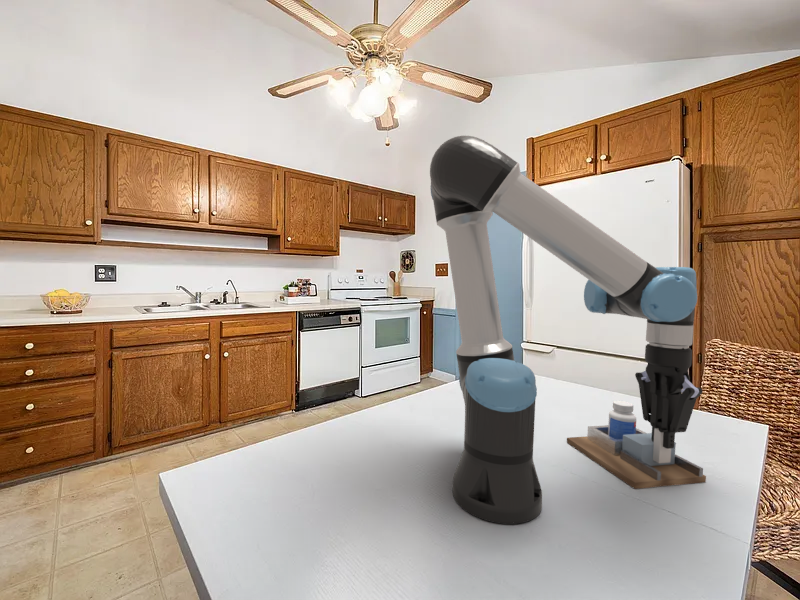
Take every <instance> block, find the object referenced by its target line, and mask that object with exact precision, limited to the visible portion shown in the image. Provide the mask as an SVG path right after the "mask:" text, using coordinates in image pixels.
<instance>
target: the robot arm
mask: <svg viewBox="0 0 800 600" xmlns="http://www.w3.org/2000/svg"><path fill="white" fill-rule="evenodd" d="M429 176H430V178H429V179H430V195H431V199H432V200H433V207H434V213H435V220H436V221H435V222H436V225H437V226H438V227H439V228H441V229H442V230H443V231H444V232H445V236H446V237H445V239H446V244H447V245H446V246H447V252H448V257H449V259H448V260H449V265H450V271H451V279H452V284H453V291H454V298H455V305H456V312H457V320H458V325H459V326H458V327H459V331H460V338H461V339H460V340H461V343H460V345H459V347H458V348H457V349H456V351H455V353H456V360H457V367H458V374H459V376H458V381H459V386H460V390H461V391H462V393H461V394H462V398H463V402H464V409H465V410H464V412H465V413H464V434H463V436H464V437H463V438H464V439H463V440H464V441H463V443H464V444H463V452H462V454H461V456H460V459H459V462H458V465H457V467H456V470H455V472H454V475H453V480H452V495H453V498H454V500H455V502H456V503H457V504H458V506H459V507H461V508H462V509H463V510H464V511H466V512H467V513H469V514H471V515H472V516H474V517H477V518H479V519H482V520H484V521H487V522H492V523H496V524H505V525H513V524H515V525H516V524H523V523H526V522H529V521H532V520H534V519H535V518H537V517H538V515H540V514H541V511H542V509H543V492H542V491H543V490H542V487H541V484H540V480H539V475H538V474H537V470H536V466H535V462H534V441H535V440H534V439H535V438H534V437H535V417H536V413H535V412H536V398H537V396H538V395H537V394H538V392H537V389H538V388H537V385H536V384H537V383H536V375H535V373H534V372H533V370H532V369H531V368H530V367H528V366H527V365H525V364H524V363H521V362H517V361H515V356H514V350H513V345H512V344H513V343H512V344H511V343H510V342H509V341H508V340H506V339H505V338H504V333H503V328H502V327H503V326H502V319H501V314H500V306H499V299H498V293H497V286H496V281H495V280H496V278H495V271H494V266H493V265H494V264H493V259H492V252H491V251H492V249H491V246H490V245H491V244H490V238H489V231H488V222H489V221H490V219H491V217H492V216H493V213H494V214H495V215H496V216H498V217H499V218H501V219H502V220H503V221H505V222H507V223H508V224H510V225H511V226H512V227H514V228H515V229H516V230H518V231H519V232H521V233H522V234H524V235H525V236H527V237H528V238H529V239H531V240H533V241H534V242H535V243H536V244H537V245H539V246H540V247H542V249H543V248H544V249H545V250H546V251H548V252H549V253H551V254H552V255H553V256H555V257H557V258H558V260H560V261H562V262H563V263H565V264H566V265H568V266H569V267H570V268H572V269H573V270H574V271H576V272H577V273H579V275H582V276H583V277H584V278H586V279H587V281H586V283H585V285H584V291H583V301H584V305H585V308H586V309H587V311H589V312H590V313H593V314H594V313H597V314H603V315H606V314H608V315H609V314H615V315H621V316H627V317H632V318H634V317H635V318H640V319H644V320H646V332H645V333H646V335H645V341H646V342H647V344H646V345H645V347H644V349H645V351H644V353H645V354H644V360H645V363H647V365H646V367H645V370H643V371H642V372H641V371H640V372H635V375H634V376H635V378H636V381H637V383H638V388H639V396H640V403H641V411H642V418H643V421H646V422H648V423H650V427H651V433H652V438H651V439H652V442H654V445H653V460H654V461H656V462H657V463H669V462H670V460H671V448H674V442H675V438H676V433H677V434H678V433H686V432H687V429H688V427H689V426H688V425H689V423H690V420H691V417H692V413H693V410H694V407H695V404H696V401H697V399H698V398H699V397H700V396H701V395H702V394H703V389H702V388H701V387H699V386H697V387H696V386H695V385H694V384H693V383H692V382H691V376H690V375H689V369H690V368H691V367H692V359H693V350H692V349H691V346H693V340H694V326H695V325H694V322H695V312H696V311H695V309H696V305H697V303H698V288H697V273H696V270H695V269H693V268H692V267H688V266H659V267H656V266H653V264H651V263H650V262H647V261H646V260H644V259H643V258H642V257H640V256H638V255H637V254H636V253H634V251H632V250H630V249H629V248H627V247H626V246H624V245H623V244H622V243H620V242H619V241H617V240H616V239H615V238H613V237H612V236H611V235H609V234H607V232H605V231H604V230H602V229H600V227H597V225H595V224H594V223H592V222H591V221H589V219H587V218H585V217H583V216H582V215H580V214H579V213H578V212H577V211H575V210H574V209H572V208H571V207H569V206H568V205H566V203H563V201H561V200H560V199H558V198H557V197H555V196H554V195H552V193H551V194H550V193H549V191H547V190H545V189H544V188H543V187H541V186H539V185H538V184H537V183H535V182H534V181H533V180H531V179H530V178H529V177H527V176H526V175H524V174H523V173H522V172H521V169H520V163H519V162H517V161H516V160H514V159H513V158H512V157H510V156H509V155H507V153H505V152H503V151H501V150H500V149H498V148H497V147H496V146H494V145H493V144H490V143H489V142H488V141H485V139H484V140H483V139H482V138H479V137H475V136H471V135H458V136H453V137H452V138H449V139H447V140H446V141H444V142H443V143H442V144H441V145H440V146H439V147H438V149H436V150H435V152H434V154H433V156H432V158H431V162H430V166H429Z"/></svg>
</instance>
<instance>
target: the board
mask: <svg viewBox="0 0 800 600" xmlns="http://www.w3.org/2000/svg"><path fill="white" fill-rule="evenodd" d="M566 443H567V444H568V445H570V446H571V447H573V448H574V449H576V450H577V451H578V452H580V453H581V454H583V455H584V456H586V457H587V458H588V459H590V460H591V461H593V462H594V463H596V464H597V465H599V466H600V467H601V468H603V469H605V470H607V471H608V472H609V473H611V474H612V475H613V476H615V477H616V478H618V479H619V480H621V481H622V482H623V483H625V484H626V485H628V486H630V487H631V488H632V489H634V490H640V489H649V488H650V489H651V488H657V487H658V488H660V487H669V486H670V487H671V486H679V485H688V484H700V483H701V484H703V483H706V481H707V475H706V474H703V476H702V477H699V476H697V475H695V474H693V473H691V472H689V471H687V470H686V469H684V468H682V467H680V466H678V465H676V464H670V465H658V466H652V467H653V468H655V469H657V470H658V471H660V472H661V480H659V481H657V480H655V479H653V478H652V477H650V476H649V475H647V474H645V473H644V472H642V471H640V470H639V469H637V468H635V467H634V466H632V465H631V464H629V463H627V462H626V461H624V460H622V459H621V458H620V455H613V454H611V453H610V452H608V451H606V450H605V449H603V448H601V447H600V446H598V445H597V444H595V443H593V442H592V441H590V440H588V439H587V436H573V437H572V436H571V437H566Z"/></svg>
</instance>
